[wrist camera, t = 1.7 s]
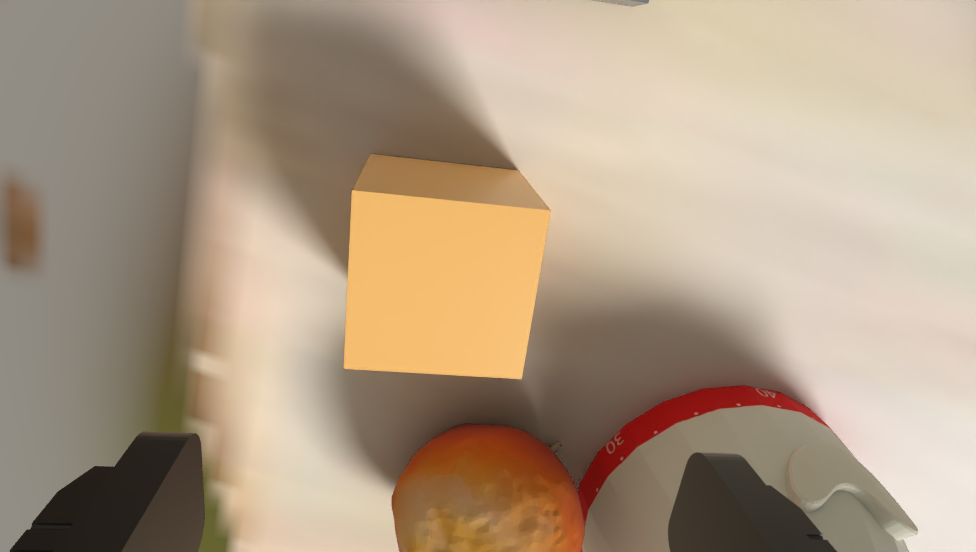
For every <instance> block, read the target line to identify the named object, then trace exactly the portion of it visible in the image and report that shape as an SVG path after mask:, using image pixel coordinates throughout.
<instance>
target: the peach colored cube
mask: <svg viewBox="0 0 976 552" xmlns="http://www.w3.org/2000/svg"><path fill="white" fill-rule="evenodd" d="M550 212H551V210H550V209H549V208H548V206H547V205H546V204H545V203H544V201H543V200H542V199H541V198H540V196H539V195H538V194H537V193H536V191H535V190H534V189H533V188H532V186H531V185H530V184H529V183H528V181H527V180H526V179H525V178H524V176H523V175H522V174H521V173H520V171H519V170H511V169H502V168H493V167H484V166H475V165H466V164H457V163H448V162H439V161H430V160H421V159H412V158H403V157H394V156H385V155H376V154H370V156H369V158H368V160H367V162H366V164H365V166H364V168H363V170H362V172H361V174H360V176H359V177H358V179H357V181H356V183H355V185H354V187H353V189H352V199H351V220H350V242H349V263H348V285H347V307H346V328H345V350H344V369H355V370H372V371H389V372H406V373H424V374H441V375H458V376H475V377H492V378H510V379H522V375H523V369H524V363H525V357H526V352H527V346H528V340H529V334H530V328H531V323H532V317H533V311H534V305H535V299H536V294H537V288H538V282H539V276H540V270H541V264H542V259H543V253H544V247H545V241H546V235H547V230H548V224H549V218H550Z"/></svg>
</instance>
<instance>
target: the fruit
mask: <svg viewBox="0 0 976 552" xmlns="http://www.w3.org/2000/svg"><path fill="white" fill-rule="evenodd" d="M561 446H562V445H561V444H560V441H558V442H557V443H556V444H554V445H553V446H552V447H550V448H549V447H548V446H547V445H545V444H544V443H543V442H541V441H540V440H538V439H537V438H535V437H533V436H532V435H530V434H529V433H527V432H525V431H523V430H520V429H517V428H513V427H510V426H506V425H481V424H462V425H458V426H455V427H453V428H450V429H448V430H446V431H444V432H442V433H440V434H439V435H437V436H435V437H434V438H433V439H432V440H431V441H430V442H428V443H427V444H426V445H425V446H423V447H422V448H421V449H420V450H419V451H418V452H417V453H416V454H415V455H414V456H413V457H412V459H411V460H410V462H409V464H408V465H407V467H406V469H405V471H404V472H403V474H402V475H401V476H400V477H399V479H398V481H397V485H396V487H395V490H394V492H393V495H392V510H393V515H394V521H395V531H396V537H397V542H398V547H399V551H400V552H581V549H582V545H583V540H584V536H585V524H584V518H583V513H582V509H581V504H580V500H579V495H578V492H577V489H576V487H575V485H574V483H573V481H572V479H571V477H570V475H569V473H568V471H567V470H566V468H565V467H564V465H563V464H562V463H561V461H560V460H559V459H558V457H557V456H556V455H555V453H554V452H556V451H557V450H558V449H559V448H560V447H561Z"/></svg>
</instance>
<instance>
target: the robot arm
mask: <svg viewBox="0 0 976 552" xmlns="http://www.w3.org/2000/svg"><path fill="white" fill-rule="evenodd" d="M204 520H205V506H204V489H203V471H202V453H201V442H200V438H199V436H198V435H197V434H196V433H168V432H167V433H166V432H142V433H140V434H139V435H138V436H137V437H136V438H135V440H134V441H133V442H132V444H131V445H130V446H129V447H128V449H127V450H126V452H125V453H124V454H123V456H122V457H121V459H120V460H119V461H118V463H117V464H116V465H115V467H104V466H102V467H101V466H95V467H93V468H92V469H90V470H89V471H87V472H86V473H84V474H83V475H81V476H80V477H78V478H77V479H76V480H74V481H73V482H71V483H70V484H68V485H67V486H66V487H64V488H62V489H61V490H60V491H58V492H57V493H56V494H55V496H54V497H53V498H52V499H51V501H50V502H49V503H48V504H47V505H46V507H45V508H44V509H43V510H42V512H41V513H40V514H39V515H38V517H37V518H36V519H35V520H34V521H33V523H32V527H31V529H30V530H26V531H25V532H24V534H23V535H22V536H21V537H20V539H19V540H18V541H17V542H16V543H15V545H14V546H13V547H12V548H11V550H10V552H198V550H199V546H200V543H201V538H202V534H203V528H204ZM822 536H823V534H822V533H821V532H820V531H819V530H818V528H817V527H816V526H815V525H814V524H813V522H812V521H811V520H810V519H809V518H808V516H807V515H806V514H805V513H804V512H803V510H802V509H801V508H800V507H798V506H797V505H796V504H795V503H793V502H792V501H791V500H789V499H788V498H787V497H785V496H784V495H783V494H781V493H780V492H779V491H777V490H776V489H775V488H773V487H772V486H771V485H766V484H765V483H764V482H763V480H762V479H761V478H760V477H759V475H758V474H757V473H756V472H755V471H754V469H753V468H752V467H751V466H750V464H749V463H748V462H747V461H746V460H745V458H744V457H742V456H741V455H739V454H730V453H701V452H696V453H693V454H692V455H691V456H690V457H689V459H688V461H687V464H686V467H685V470H684V473H683V477H682V480H681V483H680V486H679V490H678V493H677V496H676V500H675V503H674V506H673V509H672V513H671V516H670V519H669V524H668V542H669V548H670V552H837V551H836V550H835V549H834V547H833V546H832V545H831V544H830V543H829V541H828V540H824V539H823V537H822Z"/></svg>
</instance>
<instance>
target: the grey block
mask: <svg viewBox="0 0 976 552" xmlns="http://www.w3.org/2000/svg"><path fill="white" fill-rule="evenodd" d="M594 1H601V2H607V3H613V4H620V5H626V6H632V7H633V6H638V5H643V4H647V3H648V2H649V0H594Z"/></svg>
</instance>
